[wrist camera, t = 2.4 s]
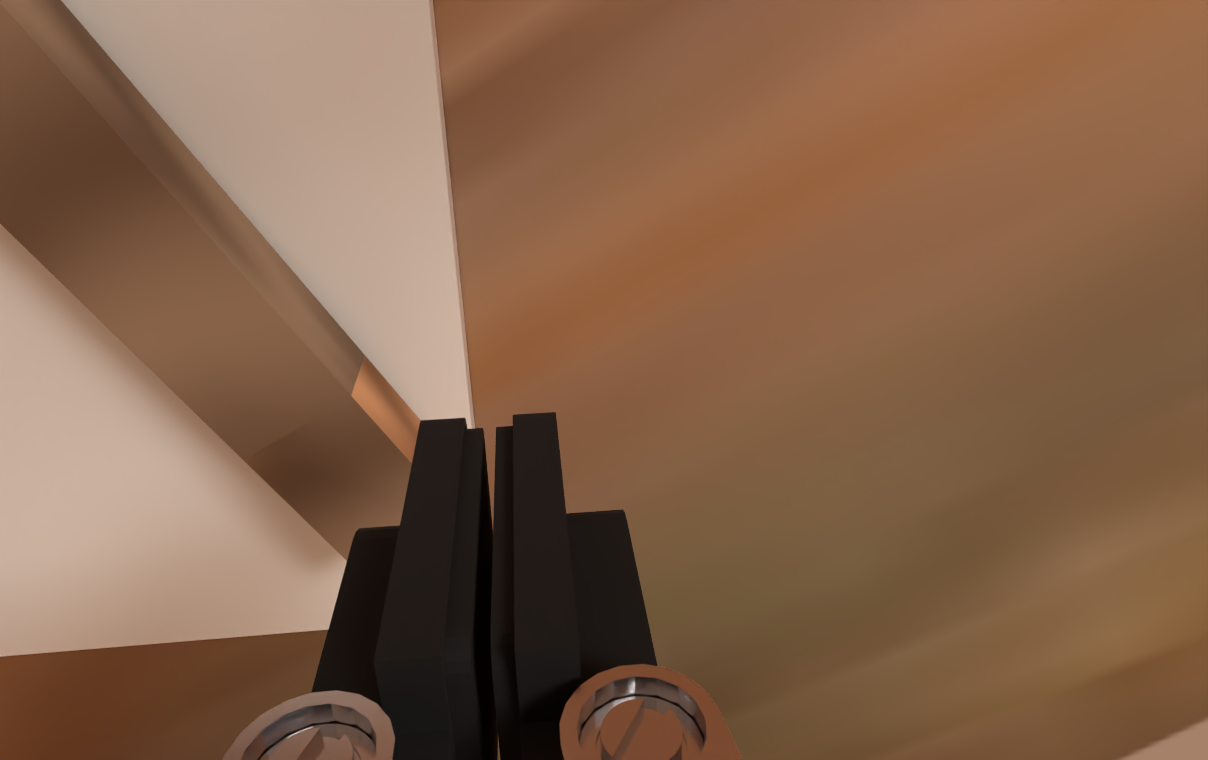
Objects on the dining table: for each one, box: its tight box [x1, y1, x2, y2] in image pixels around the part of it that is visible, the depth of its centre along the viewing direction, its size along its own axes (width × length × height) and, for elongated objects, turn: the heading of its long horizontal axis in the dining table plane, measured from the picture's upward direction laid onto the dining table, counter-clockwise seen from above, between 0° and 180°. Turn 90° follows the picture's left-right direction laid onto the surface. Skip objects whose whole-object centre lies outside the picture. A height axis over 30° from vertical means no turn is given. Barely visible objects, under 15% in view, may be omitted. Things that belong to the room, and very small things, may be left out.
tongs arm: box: [0, 0, 421, 561], centre depth 16 cm, size 22×3×2 cm, turn 30°
